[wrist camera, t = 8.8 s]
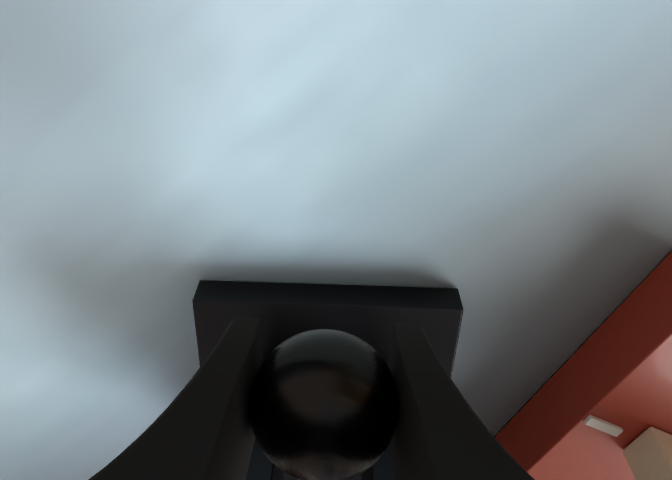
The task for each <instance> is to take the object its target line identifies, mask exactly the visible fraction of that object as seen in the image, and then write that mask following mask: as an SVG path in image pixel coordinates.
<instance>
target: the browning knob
mask: <svg viewBox="0 0 672 480" xmlns="http://www.w3.org/2000/svg"><path fill="white" fill-rule="evenodd" d="M623 454H624V456H625V458H626V460H627V462H628V465H629V467H630V469H631V471H632V473H633V475H634V477H635V479H636V480H672V435H671V434H668V433H666V432H663V431H661V430H659V429H656V428H654V427H649V428H648V429H646V430H645V431H644V432H643V433H642V434H641V435H640V436H638V437H637V438H636V439H635V440H634V441H633V442H631V443H630V444H629V445H628V446H627V447H626V448H625V449H623Z"/></svg>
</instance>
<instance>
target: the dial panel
mask: <svg viewBox="0 0 672 480" xmlns="http://www.w3.org/2000/svg"><path fill="white" fill-rule="evenodd" d="M649 427H654V428H656V429H659V430H661V431H663V432H666V433H668V434H671V435H672V251H671V253H670V254H669V255H668V256H667V257H666V258H665V259H664V260H663V261H662V262H661V263H660V264H659V265H658V266H657V267H656V268H655V269H654V270H653V271H652V272H651V274H650V275H649V276H648V277H647V278H646V279H645V280H644V281H643V282H642V283H641V284H640V285H639V286H638V287H637V288H636V289H635V290H634V291H633V292H632V293H631V294H630V296H629V297H628V298H627V299H626V300H625V301H624V302H623V303H622V304H621V305H620V306H619V307H618V308H617V309H616V310H615V311H614V312H613V313H612V314H611V315H610V317H609V318H608V319H607V320H606V321H605V322H604V323H603V324H602V325H601V326H600V327H599V328H598V329H597V330H596V331H595V332H594V333H593V334H592V335H591V336H590V337H589V339H588V340H587V341H586V342H585V343H584V344H583V345H582V346H581V347H580V348H579V349H578V350H577V351H576V352H575V353H574V354H573V355H572V356H571V357H570V358H569V360H568V361H567V362H566V363H565V364H564V365H563V366H562V367H561V368H560V369H559V370H558V371H557V372H556V373H555V374H554V375H553V376H552V377H551V378H550V379H549V380H548V382H547V383H546V384H545V385H544V386H543V387H542V388H541V389H540V390H539V391H538V392H537V393H536V394H535V395H534V396H533V397H532V398H531V399H530V400H529V401H528V403H527V404H526V405H525V406H524V407H523V408H522V409H521V410H520V411H519V412H518V413H517V414H516V415H515V416H514V417H513V418H512V419H511V420H510V421H509V422H508V423H507V425H506V426H505V427H504V428H503V429H502V430H501V431H500V432H499V433H498V434H497V435H496V436H495V439H496V440H497V441H498V442H499V443H500V444H501V445H502V447H503V448H504V449H505V450H506V451H507V452H508V453H509V454H510V455H511V456H512V457H513V458H514V459H515V461H516V462H517V463H518V464H519V465H520V466H521V467H522V468H523V469H524V470H525V471H526V472H527V473H528V474H529V475H531V476H532V477H533V478H534V479H535V480H636V479H635V477H634V475H633V473H632V471H631V469H630V467H629V465H628V462H627V460H626V458H625V456H624V454H623V449H625V448H626V447H627V446H628V445H629V444H630V443H631V442H633V441H634V440H635V439H636V438H637V437H638V436H640V435H641V434H642V433H643V432H644V431H645V430H646V429H648V428H649Z"/></svg>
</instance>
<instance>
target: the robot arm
mask: <svg viewBox="0 0 672 480" xmlns="http://www.w3.org/2000/svg"><path fill="white" fill-rule="evenodd" d="M262 363H263V362H262V338H261V319H250V318H234V319H233V320H232V321H231V322H230V323H229V325H228V327H227V328H226V330H225V332H224V333H223V335H222V337H221V338H220V340H219V341H218V343H217V344H216V346H215V347H214V349H213V350H212V352H211V353H210V355H209V356H208V358H207V359H206V360H205V362H204V363H203V364H202V366H201V367H200V368H199V370H198V371H197V372H196V374H195V375H194V376H193V378H192V379H191V380H190V382H189V383H188V384H187V385H186V386H185V388H184V389H183V390H182V391H181V392H180V394H179V395H178V396H177V397H176V398H175V399H174V401H173V402H172V403H171V404H170V405H169V406H168V408H167V409H166V410H165V411H164V412H163V413H162V414H161V415H160V416H159V417H158V418H157V419H156V420H155V422H154V423H153V424H152V425H151V426H150V427H149V428H148V429H147V430H146V431H145V432H144V433H143V434H142V435H140V436H139V437H138V438H137V439H136V440H135V441H134V442H133V443H132V444H131V445H130V446H128V447H127V448H126V449H125V450H124V451H123V452H122V453H121V454H120V455H119V456H117V457H116V458H115V459H114V460H113V461H112V462H110V463H109V464H108V465H107V466H106V467H104V468H103V469H102V470H100V471H99V472H98V473H97V474H95V475H94V476H93V477H91V478H90V479H89V480H246V476H247V471H248V467H249V463H250V459H251V454H252V450H253V446H254V441H255V435H254V433H253V430H252V426H251V421H250V414H249V400H250V393H251V388H252V384H253V381H254V378H255V376H256V374H257V371H258V369H259V367H260V366H261V364H262ZM389 369H390V371H391V372H392V375H393V378H394V380H395V383H396V386H397V393H398V402H399V413H398V421H397V425H396V429H395V432H394V435H393V437H392V439H391V441H390V442H391V448H392V455H393V461H394V468H395V474H396V480H535V479H534V478H533V477H532V476H531V475H529V474H528V473H527V472H526V471H525V470H524V469H523V468H522V467H521V466H520V465H519V464H518V463H517V462H516V461H515V459H514V458H513V457H512V456H511V455H510V454H509V453H508V452H507V451H506V450H505V449H504V448H503V447H502V445H501V444H500V443H499V442H498V441H497V440H496V439H495V437H494V436H493V435H492V434H491V433H490V431H489V430H488V429H487V428H486V427H485V425H484V424H483V423H482V422H481V420H480V419H479V418H478V416H477V415H476V414H475V412H474V411H473V410H472V408H471V407H470V406H469V404H468V403H467V402H466V400H465V399H464V397H463V396H462V394H461V393H460V391H459V390H458V388H457V387H456V385H455V384H454V382H453V381H452V379H451V378H450V376H449V375H448V373H447V371H446V370H445V368H444V367H443V365H442V363H441V361H440V360H439V358H438V356H437V355H436V353H435V351H434V349H433V347H432V345H431V343H430V342H429V340H428V338H427V336H426V333H425V331H424V329H423V328H422V327H421V326H420V325H419V324H403V323H393V329H392V339H391V348H390V358H389Z"/></svg>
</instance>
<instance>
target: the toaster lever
mask: <svg viewBox="0 0 672 480" xmlns="http://www.w3.org/2000/svg"><path fill="white" fill-rule="evenodd" d="M398 413H399V402H398V393H397V386H396V383H395V380H394V378H393V375H392V372H391V371H390V369H389V367H388V365H387V363H386V362H385V360H384V359H383V358H382V357H381V355H380V354H379V353H378V352H377V351H376V350H375V349H374V348H373V347H372V346H371V345H369V344H368V343H367V342H365V341H364V340H362V339H361V338H359V337H357V336H355V335H352V334H350V333H347V332H344V331H340V330H335V329H314V330H309V331H305V332H302V333H299V334H296V335H294V336H292V337H290V338H288V339H286V340H285V341H283V342H282V343H281V344H279V345H278V346H277V347H275V348H274V350H273V351H272V352H271V353H270V354H269V355H268V356H267V357H266V358H265V360H264V361H263V363H262V364H261V366H260V367H259V369H258V371H257V374H256V376H255V378H254V381H253V384H252V388H251V393H250V400H249V414H250V421H251V426H252V430H253V433H254V435H255V438H256V440H257V442H258V445H259V446H260V448H261V449H262V451H263V452H264V454H265V455H266V456H267V458H268V459H269V460H270V461H271V462H272V463H273V464H274V465H275V466H276V467H277V468H279V469H280V470H282V471H283V472H284V473H286V474H288V475H289V476H291V477H293V478H296V479H298V480H349V479H352V478H354V477H356V476H358V475H359V474H361V473H363V472H365V471H366V470H367V469H369V468H370V467H371V466H372V465H373V464H374V463H375V462H376V461H377V460H378V459H379V458H380V457H381V456H382V454H383V453H384V452H385V450H386V449H387V447H388V445H389V443H390V441H391V439H392V437H393V435H394V432H395V429H396V425H397V421H398Z"/></svg>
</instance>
